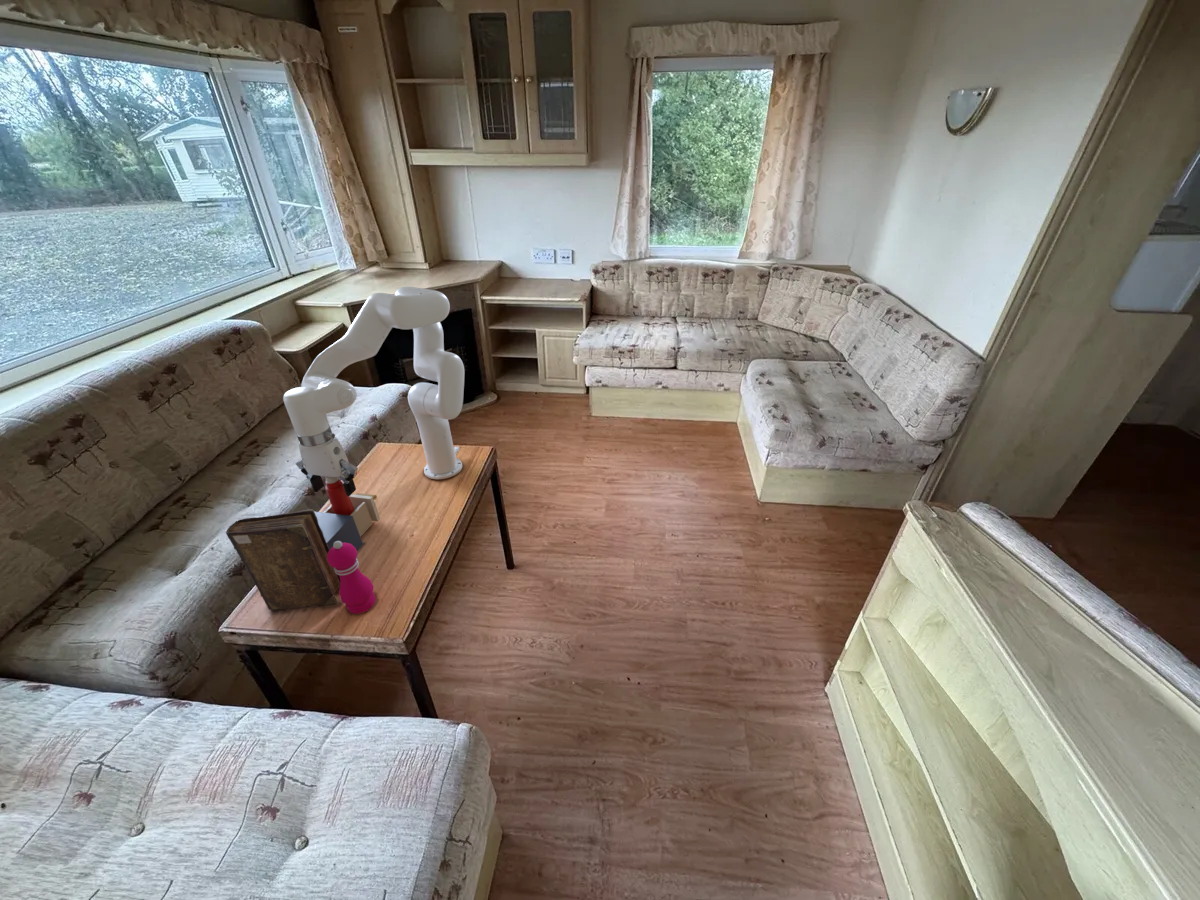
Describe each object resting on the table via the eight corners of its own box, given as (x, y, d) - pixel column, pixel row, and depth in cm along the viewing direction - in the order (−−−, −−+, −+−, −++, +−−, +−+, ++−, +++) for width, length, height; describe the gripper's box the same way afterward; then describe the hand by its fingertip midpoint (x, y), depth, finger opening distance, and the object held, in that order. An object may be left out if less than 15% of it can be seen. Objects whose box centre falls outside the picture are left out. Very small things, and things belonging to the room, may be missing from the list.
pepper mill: (366, 618, 112) (340, 555, 101) (338, 613, 113) (310, 551, 103) (384, 594, 118) (361, 532, 107) (357, 590, 119) (333, 529, 109)
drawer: (356, 506, 146) (348, 484, 141) (387, 510, 144) (380, 488, 140) (318, 546, 131) (307, 523, 127) (351, 550, 130) (342, 527, 125)
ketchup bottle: (348, 521, 139) (328, 468, 129) (363, 522, 138) (344, 470, 128) (337, 532, 135) (316, 479, 125) (353, 534, 134) (332, 480, 124)
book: (265, 612, 114) (219, 533, 100) (280, 589, 120) (239, 511, 106) (337, 608, 114) (301, 529, 101) (348, 585, 120) (315, 508, 107)
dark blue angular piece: (326, 539, 135) (314, 511, 130) (363, 544, 133) (352, 516, 128) (288, 577, 123) (273, 548, 118) (328, 583, 121) (315, 554, 116)
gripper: (355, 431, 122) (372, 486, 131) (295, 425, 125) (316, 479, 133) (336, 446, 115) (355, 502, 124) (274, 440, 118) (297, 495, 127)
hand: (335, 490), depth 129 cm, fingers open, 9 cm apart
